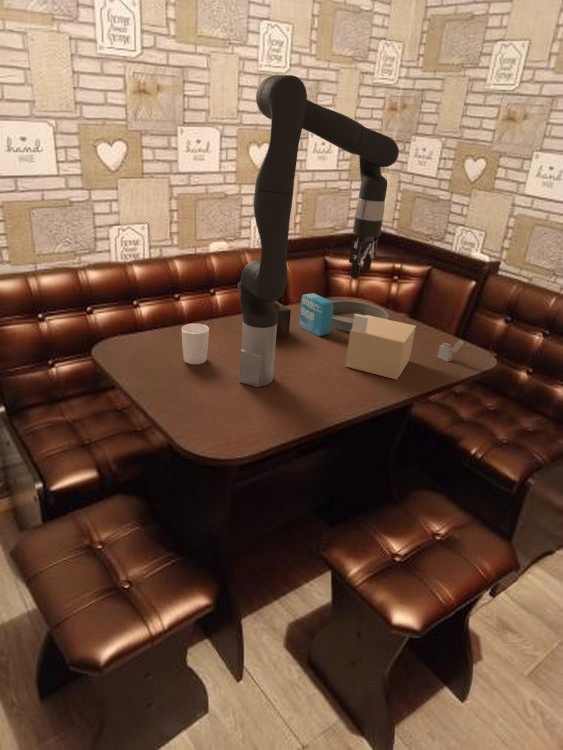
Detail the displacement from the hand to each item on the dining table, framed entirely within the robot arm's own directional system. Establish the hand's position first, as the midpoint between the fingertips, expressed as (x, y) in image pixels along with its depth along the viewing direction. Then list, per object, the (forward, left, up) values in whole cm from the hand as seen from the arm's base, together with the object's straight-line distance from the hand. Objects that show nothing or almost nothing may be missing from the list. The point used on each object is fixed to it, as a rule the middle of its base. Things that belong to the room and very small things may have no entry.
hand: (360, 274), depth 154 cm
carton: (+5, -8, -28) cm, 30 cm away
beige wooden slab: (-3, -8, -28) cm, 29 cm away
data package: (+19, +19, -28) cm, 39 cm away
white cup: (-24, +40, -28) cm, 54 cm away
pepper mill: (+6, +33, -28) cm, 44 cm away
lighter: (+21, -27, -28) cm, 45 cm away
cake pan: (+36, +10, -29) cm, 47 cm away
